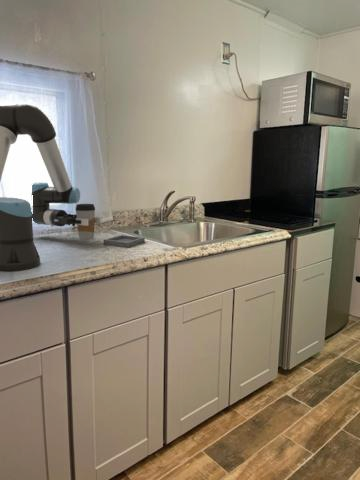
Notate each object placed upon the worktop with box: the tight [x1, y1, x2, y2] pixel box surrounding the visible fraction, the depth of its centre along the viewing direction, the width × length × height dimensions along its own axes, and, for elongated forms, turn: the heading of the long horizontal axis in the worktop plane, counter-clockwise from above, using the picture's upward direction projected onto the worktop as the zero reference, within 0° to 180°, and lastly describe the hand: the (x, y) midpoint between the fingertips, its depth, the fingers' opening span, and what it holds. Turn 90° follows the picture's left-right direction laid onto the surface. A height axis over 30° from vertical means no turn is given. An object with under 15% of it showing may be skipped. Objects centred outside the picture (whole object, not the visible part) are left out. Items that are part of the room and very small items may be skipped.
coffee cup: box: [75, 203, 96, 241], centre depth 162 cm, size 8×8×15 cm
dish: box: [103, 234, 146, 249], centre depth 166 cm, size 13×13×2 cm
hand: (94, 221), depth 160 cm, fingers closed on coffee cup, 7 cm apart
